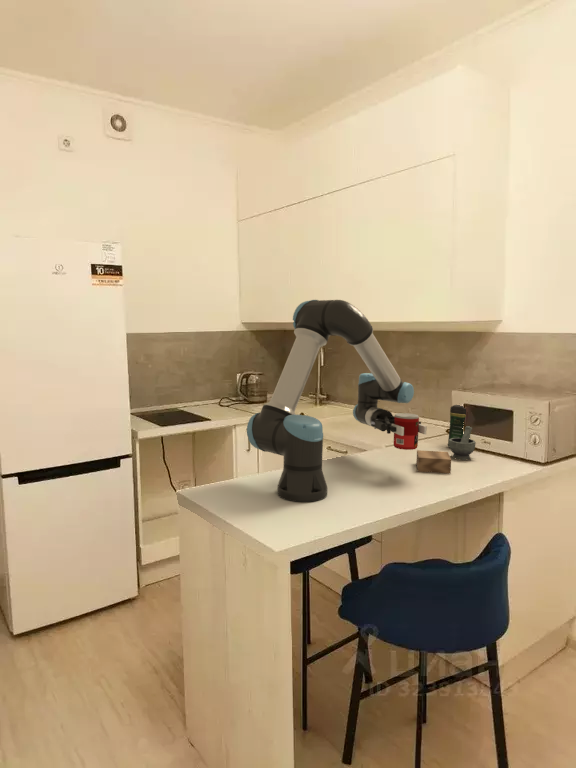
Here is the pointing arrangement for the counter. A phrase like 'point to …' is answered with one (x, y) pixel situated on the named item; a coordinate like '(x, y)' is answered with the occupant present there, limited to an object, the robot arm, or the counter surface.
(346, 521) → the counter surface
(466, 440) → the mortar and pestle
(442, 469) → the block
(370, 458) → the counter surface
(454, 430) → the coffee jar
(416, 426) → the canned food
